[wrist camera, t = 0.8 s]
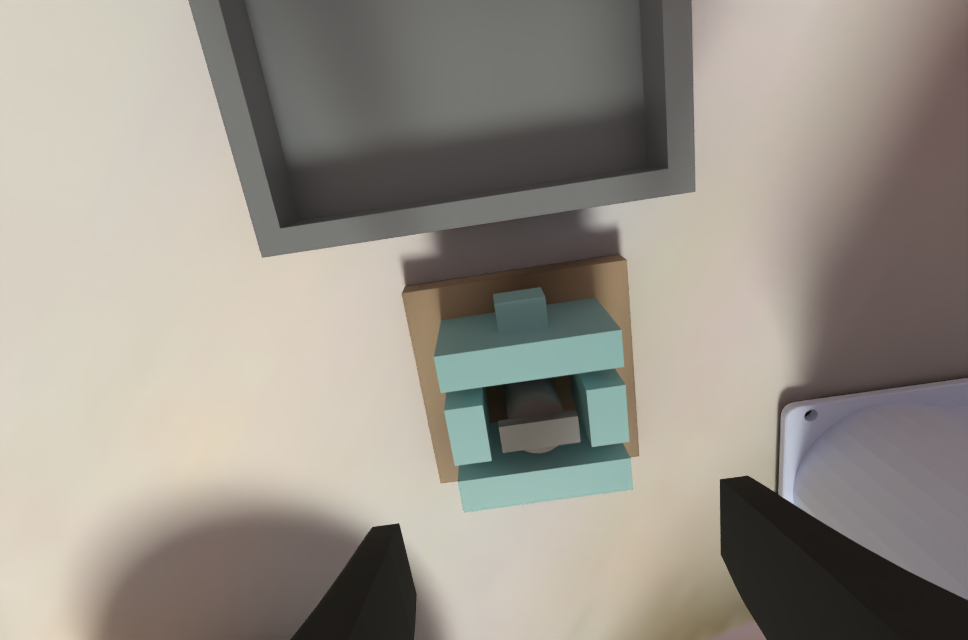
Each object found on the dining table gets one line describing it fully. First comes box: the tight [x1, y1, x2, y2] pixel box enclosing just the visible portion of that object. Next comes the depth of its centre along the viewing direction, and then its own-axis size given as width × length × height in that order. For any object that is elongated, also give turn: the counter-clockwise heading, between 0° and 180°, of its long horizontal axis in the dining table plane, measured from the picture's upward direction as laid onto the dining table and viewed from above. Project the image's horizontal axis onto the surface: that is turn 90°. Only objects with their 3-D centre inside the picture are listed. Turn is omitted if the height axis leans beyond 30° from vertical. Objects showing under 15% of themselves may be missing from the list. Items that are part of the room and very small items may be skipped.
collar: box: [434, 287, 633, 512], centre depth 18 cm, size 6×7×4 cm
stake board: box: [402, 255, 639, 483], centre depth 18 cm, size 8×8×5 cm
